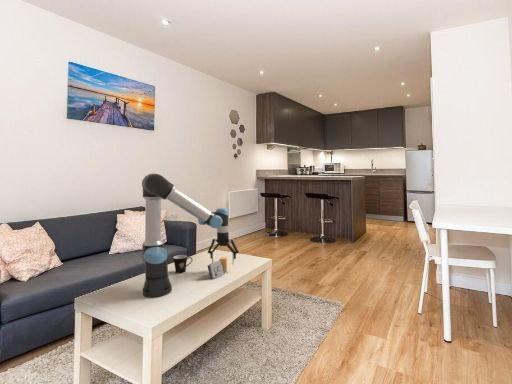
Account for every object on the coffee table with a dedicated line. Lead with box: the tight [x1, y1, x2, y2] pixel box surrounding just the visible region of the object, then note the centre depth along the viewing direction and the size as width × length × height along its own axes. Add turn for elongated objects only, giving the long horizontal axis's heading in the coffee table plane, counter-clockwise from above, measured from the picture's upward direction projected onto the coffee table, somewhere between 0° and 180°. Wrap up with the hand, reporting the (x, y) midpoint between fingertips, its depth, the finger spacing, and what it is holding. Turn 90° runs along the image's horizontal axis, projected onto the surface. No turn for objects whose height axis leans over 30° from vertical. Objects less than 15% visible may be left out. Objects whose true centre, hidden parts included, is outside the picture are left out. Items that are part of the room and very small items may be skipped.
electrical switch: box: [207, 260, 225, 280], centre depth 178 cm, size 9×5×9 cm, turn 141°
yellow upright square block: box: [218, 256, 229, 271], centre depth 187 cm, size 4×4×7 cm
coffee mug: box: [173, 254, 193, 274], centre depth 187 cm, size 12×9×10 cm
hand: (223, 263), depth 187 cm, fingers open, 13 cm apart
